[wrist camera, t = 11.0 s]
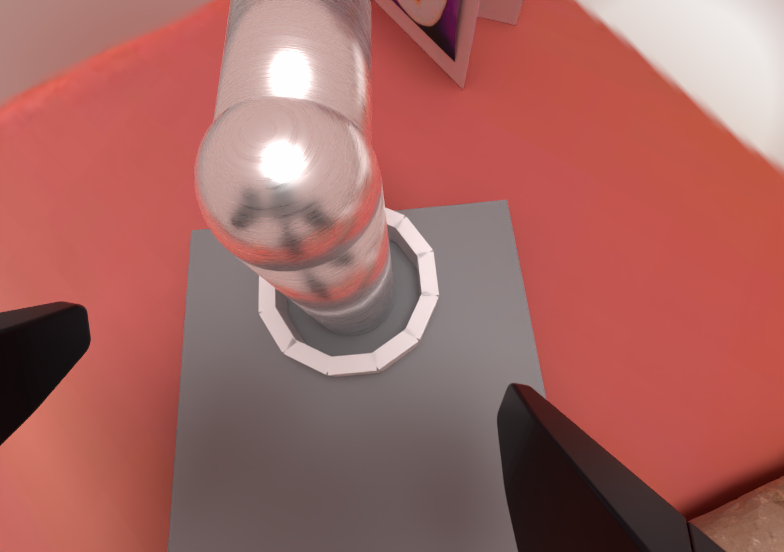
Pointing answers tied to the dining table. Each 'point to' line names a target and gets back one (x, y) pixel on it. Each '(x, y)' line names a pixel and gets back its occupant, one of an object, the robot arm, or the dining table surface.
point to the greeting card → (448, 26)
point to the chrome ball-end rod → (300, 159)
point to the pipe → (748, 521)
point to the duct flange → (354, 400)
